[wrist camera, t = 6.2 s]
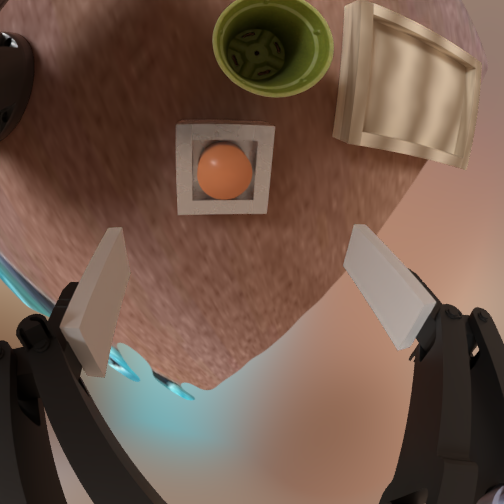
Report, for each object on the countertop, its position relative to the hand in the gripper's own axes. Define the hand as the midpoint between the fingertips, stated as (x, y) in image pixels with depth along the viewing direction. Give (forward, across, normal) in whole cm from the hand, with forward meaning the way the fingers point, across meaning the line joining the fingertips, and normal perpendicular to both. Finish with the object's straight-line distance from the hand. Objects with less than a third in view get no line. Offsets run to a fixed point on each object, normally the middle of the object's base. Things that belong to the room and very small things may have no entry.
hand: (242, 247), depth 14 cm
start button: (+16, 0, 0) cm, 16 cm away
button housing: (+18, 0, 0) cm, 18 cm away
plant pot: (+19, +3, +12) cm, 22 cm away
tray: (+18, +23, +12) cm, 32 cm away
